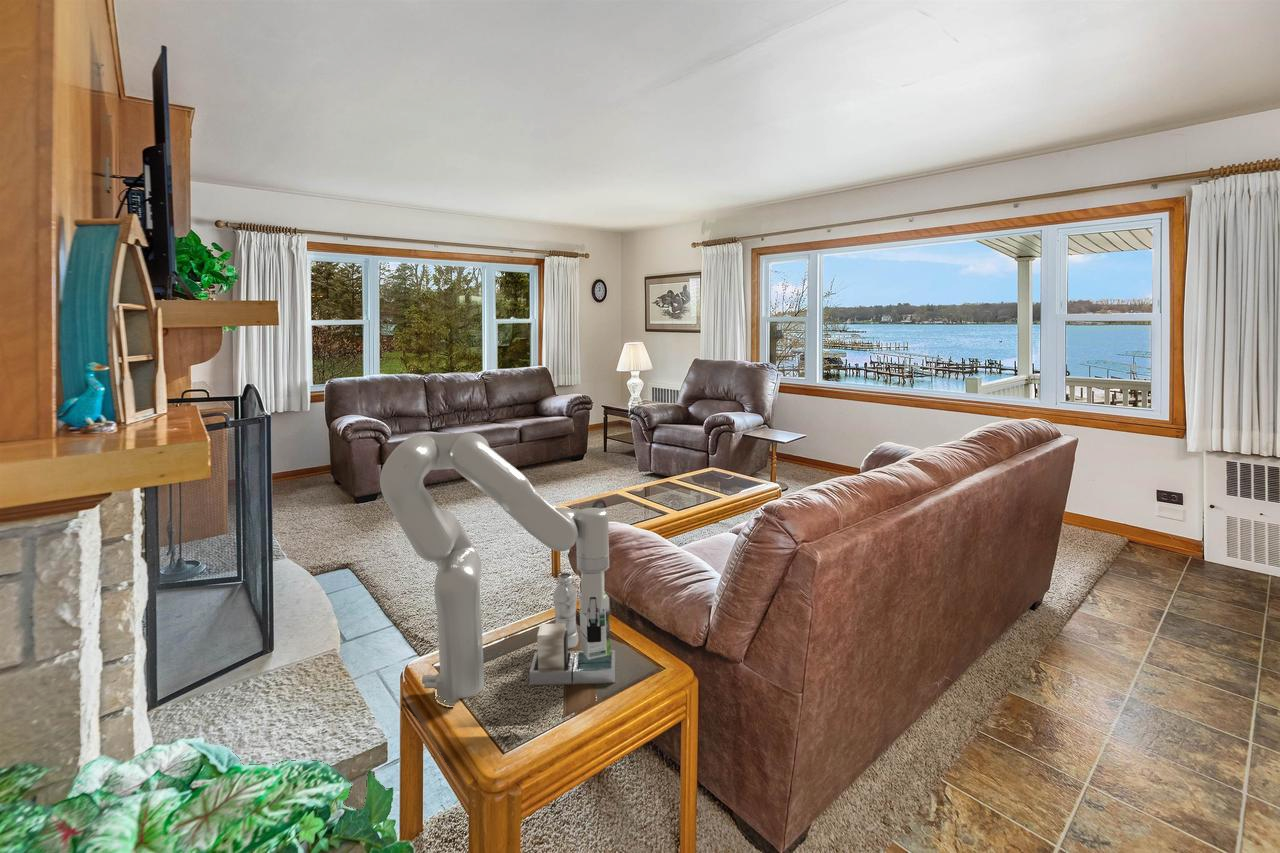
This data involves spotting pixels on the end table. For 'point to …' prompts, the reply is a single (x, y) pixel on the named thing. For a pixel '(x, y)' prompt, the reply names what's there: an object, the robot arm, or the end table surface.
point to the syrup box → (602, 647)
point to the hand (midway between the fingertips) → (594, 633)
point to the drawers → (576, 671)
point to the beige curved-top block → (552, 647)
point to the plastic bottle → (566, 607)
